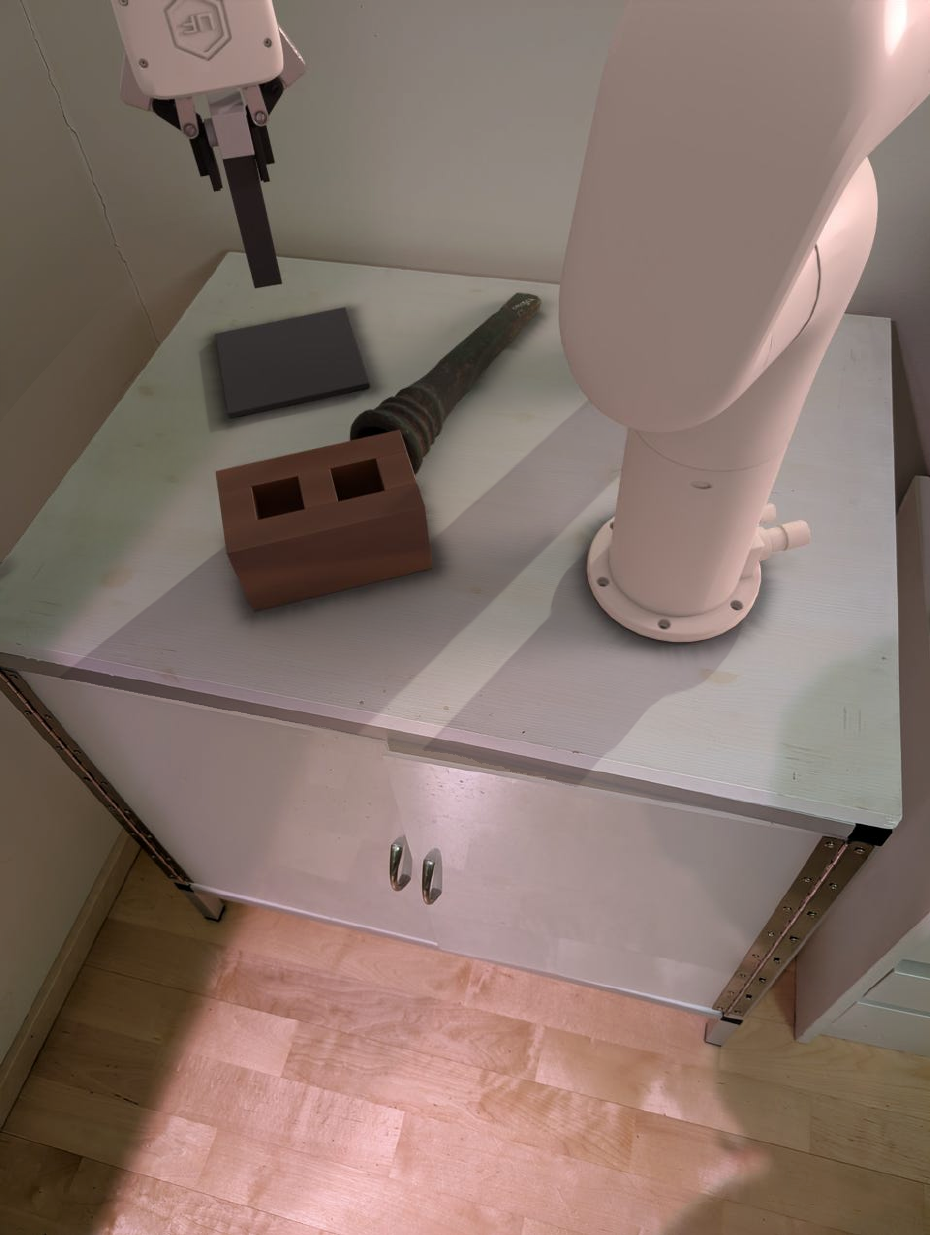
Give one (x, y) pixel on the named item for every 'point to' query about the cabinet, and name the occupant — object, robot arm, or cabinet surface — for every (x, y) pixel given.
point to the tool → (445, 382)
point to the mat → (289, 362)
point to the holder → (323, 520)
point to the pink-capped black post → (243, 183)
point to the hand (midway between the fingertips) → (239, 175)
